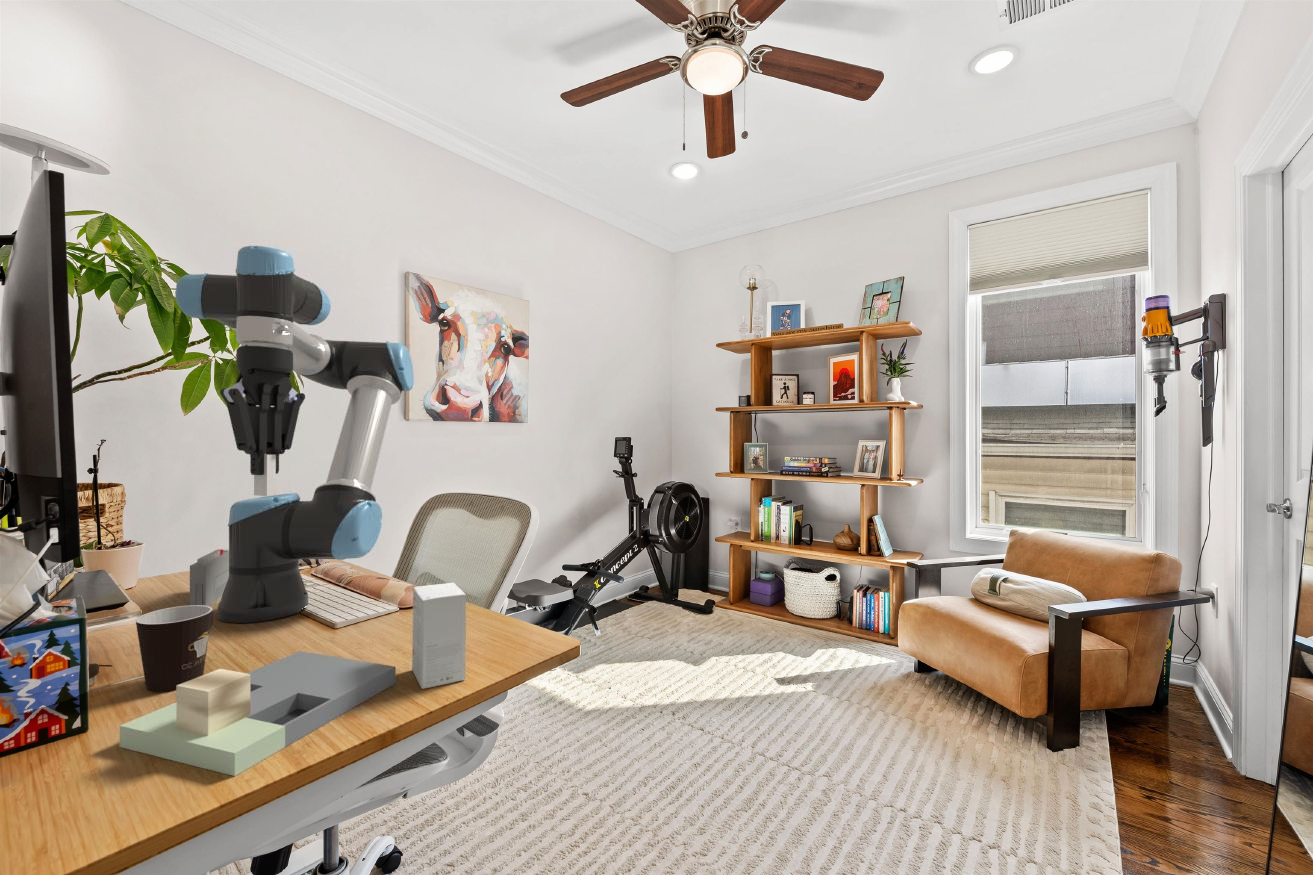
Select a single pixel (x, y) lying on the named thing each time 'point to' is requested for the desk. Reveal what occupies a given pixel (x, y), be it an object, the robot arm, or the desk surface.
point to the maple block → (212, 701)
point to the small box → (439, 634)
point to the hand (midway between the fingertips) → (264, 495)
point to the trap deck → (265, 713)
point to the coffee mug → (173, 645)
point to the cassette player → (209, 578)
